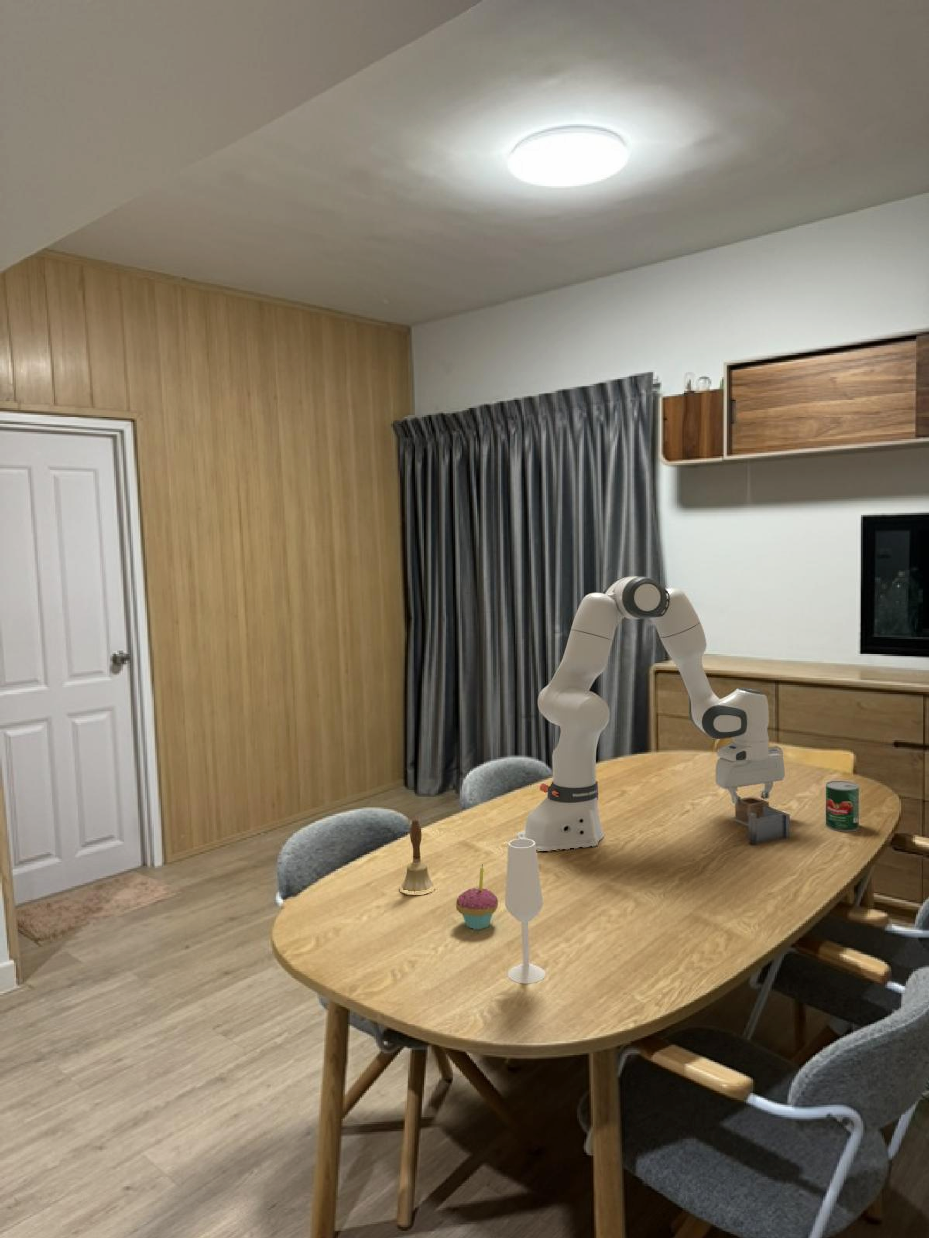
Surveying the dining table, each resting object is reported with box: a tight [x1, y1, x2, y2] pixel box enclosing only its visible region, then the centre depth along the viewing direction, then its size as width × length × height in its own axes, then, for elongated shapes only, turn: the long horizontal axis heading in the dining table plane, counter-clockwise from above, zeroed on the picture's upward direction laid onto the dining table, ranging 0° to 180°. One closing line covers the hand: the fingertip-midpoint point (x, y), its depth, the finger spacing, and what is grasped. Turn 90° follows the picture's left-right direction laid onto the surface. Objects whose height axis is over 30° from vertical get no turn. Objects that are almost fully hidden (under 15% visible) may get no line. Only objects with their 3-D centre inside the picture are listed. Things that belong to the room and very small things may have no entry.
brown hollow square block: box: [734, 796, 770, 823], centre depth 227 cm, size 6×6×5 cm
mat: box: [732, 816, 749, 828], centre depth 227 cm, size 7×7×1 cm
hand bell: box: [400, 818, 434, 892], centre depth 191 cm, size 8×8×16 cm
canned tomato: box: [825, 780, 860, 832], centre depth 220 cm, size 8×8×11 cm
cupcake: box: [455, 863, 499, 930], centre depth 172 cm, size 9×8×12 cm
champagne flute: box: [504, 838, 546, 985], centre depth 151 cm, size 7×7×24 cm
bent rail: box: [748, 805, 791, 846], centre depth 215 cm, size 12×8×8 cm
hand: (750, 800), depth 226 cm, fingers open, 8 cm apart
